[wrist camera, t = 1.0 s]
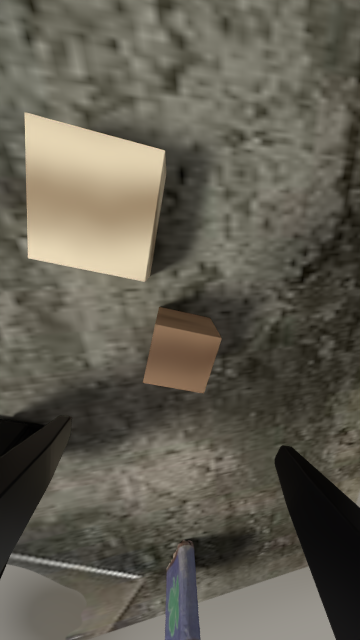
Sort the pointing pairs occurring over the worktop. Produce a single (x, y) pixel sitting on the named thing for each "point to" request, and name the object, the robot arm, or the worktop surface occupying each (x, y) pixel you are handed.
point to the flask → (182, 595)
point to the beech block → (92, 198)
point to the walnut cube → (182, 351)
